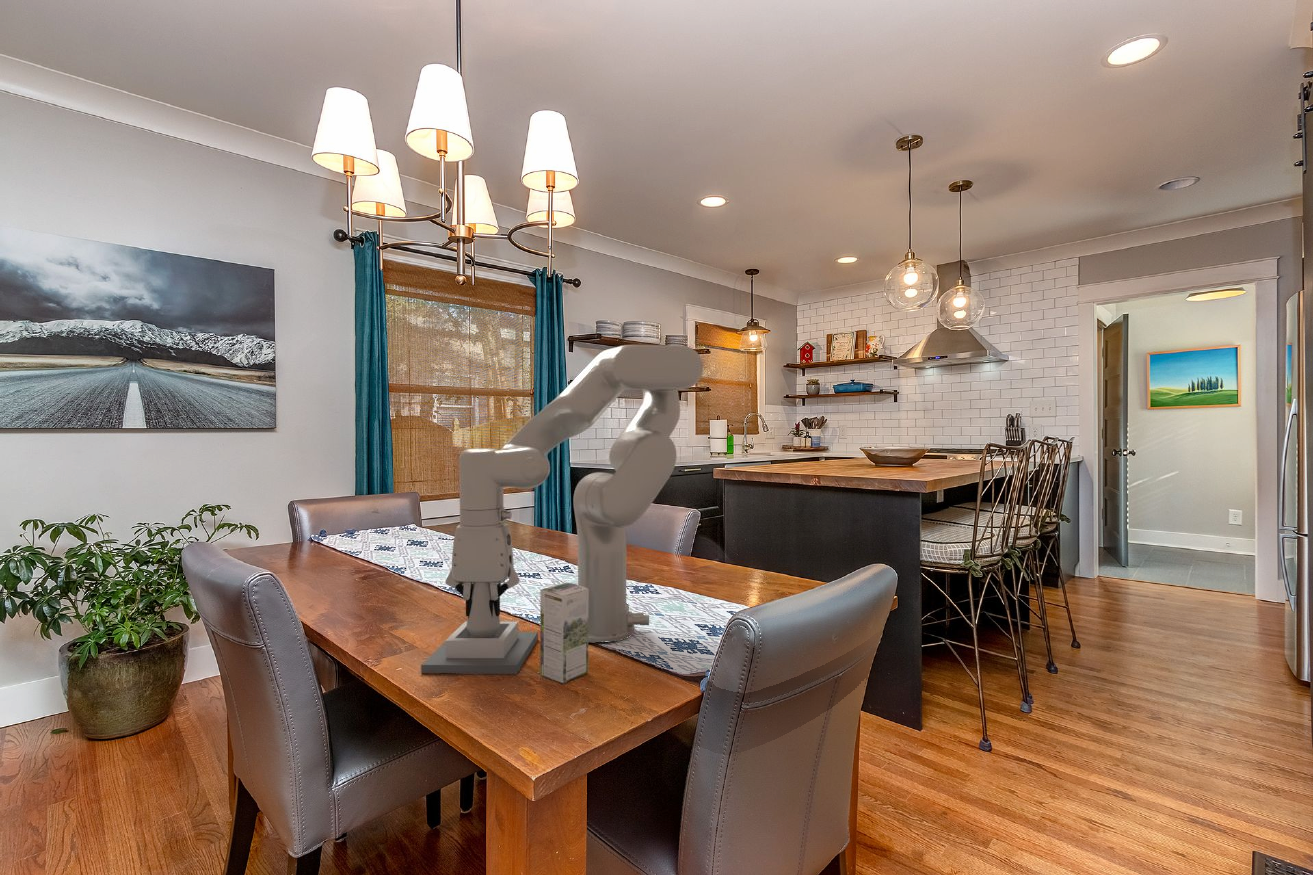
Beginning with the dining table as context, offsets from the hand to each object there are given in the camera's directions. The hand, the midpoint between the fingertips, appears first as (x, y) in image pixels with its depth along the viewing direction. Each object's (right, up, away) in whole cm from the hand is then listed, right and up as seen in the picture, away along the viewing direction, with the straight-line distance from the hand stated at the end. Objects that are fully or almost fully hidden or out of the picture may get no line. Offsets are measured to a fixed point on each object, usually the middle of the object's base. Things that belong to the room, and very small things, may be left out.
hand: (483, 619), depth 110 cm
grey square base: (0, -7, 0) cm, 7 cm away
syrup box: (+16, -7, -8) cm, 19 cm away
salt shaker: (0, -3, 0) cm, 3 cm away
